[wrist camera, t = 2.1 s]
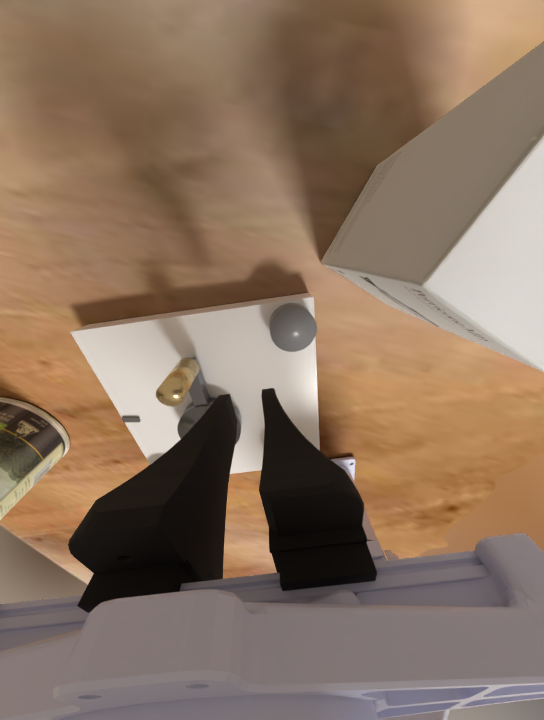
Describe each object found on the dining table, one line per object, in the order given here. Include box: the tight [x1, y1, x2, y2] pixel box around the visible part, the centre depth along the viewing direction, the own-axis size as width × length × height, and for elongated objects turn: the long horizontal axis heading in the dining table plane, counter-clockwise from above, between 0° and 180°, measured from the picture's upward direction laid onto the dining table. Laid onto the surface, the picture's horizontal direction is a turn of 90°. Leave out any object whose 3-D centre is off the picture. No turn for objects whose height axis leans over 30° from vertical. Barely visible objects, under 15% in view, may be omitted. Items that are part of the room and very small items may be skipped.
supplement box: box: [321, 42, 544, 372], centre depth 11 cm, size 7×7×13 cm
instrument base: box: [71, 293, 320, 474], centre depth 22 cm, size 20×20×4 cm
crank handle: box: [156, 357, 242, 445], centre depth 18 cm, size 11×6×5 cm, turn 8°
